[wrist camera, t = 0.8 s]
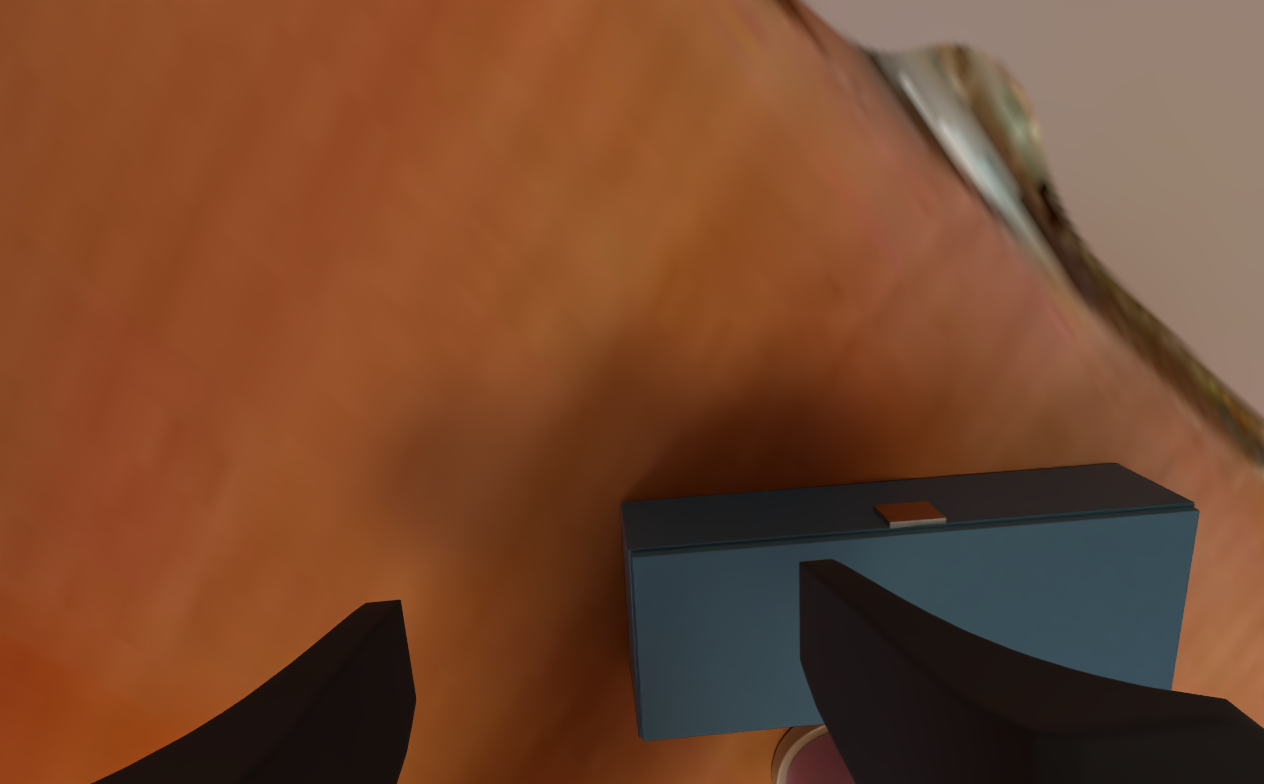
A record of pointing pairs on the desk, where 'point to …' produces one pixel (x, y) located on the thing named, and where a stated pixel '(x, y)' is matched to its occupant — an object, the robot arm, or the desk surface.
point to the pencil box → (899, 581)
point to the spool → (809, 758)
